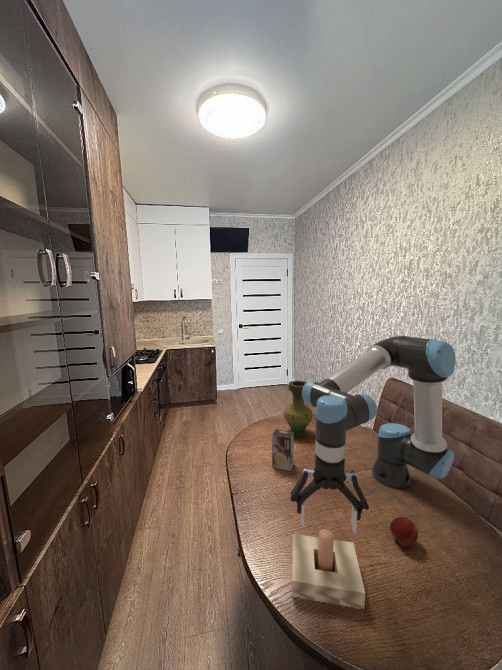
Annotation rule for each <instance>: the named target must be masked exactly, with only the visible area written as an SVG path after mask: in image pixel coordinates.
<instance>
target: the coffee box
mask: <svg viewBox="0 0 502 670" xmlns="http://www.w3.org/2000/svg"><path fill="white" fill-rule="evenodd" d="M294 439H295V438H294V432H290V430H284V429H280V428H279V429H278V428H274V430H273V432H272V434H271V465H272V466H271V467H272V468H275V469H280V470H283V471H288V472H292V470H293V467H294V464H295V463H294V453H295V452H294V449H295V448H294V447H295V445H294V444H295V442H294Z"/></svg>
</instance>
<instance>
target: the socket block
mask: <svg viewBox="0 0 502 670" xmlns="http://www.w3.org/2000/svg"><path fill="white" fill-rule="evenodd" d="M318 543H319V536H317V537H316V536H310V535H301V534H296V533H293V534H292V554H291V555H292V556H291V557H292V559H291V560H292V565H291V567H292V569H291V570H292V573H291V577H292V579H291V597H292V596H295V597H300V598H304V599H303V600H305V599H308V600H307V601H311V600H312V602H317V601H318V603H322V602H326V603H325V604H328V603H330V604H329V605H333V604H335V606H339V605H343V606H342V607H344V606H352V607H359V608H364V609H365V603H366V591H365V590H366V589H365V586H364V582H363V578H362V573H361V570H360V565H359V561H358V556H357V553H356V549H355V548H356V547H355V543H354V542H351V541H345V540H337V539H334V545H333V565H332V568H333V570H334V571H332V572H329V571H322V570H317V568H316V565H318ZM300 598H299V599H300ZM319 601H320V602H319Z"/></svg>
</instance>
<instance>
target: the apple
mask: <svg viewBox="0 0 502 670" xmlns="http://www.w3.org/2000/svg"><path fill="white" fill-rule="evenodd" d="M389 529H390V532H391V534H392V535H393V537H394V539H396V541H397V542H398V544H399V545H401V546H403V547H412V546H414V544H416V542H417V540H418V538H419V531H418V529H417V526H416V525H415V524H414V522H413V521H412V520H411V519H409V518H407V517H405V516H399V517H395V518H394V519H393V520H392V521H391V522H390V525H389Z"/></svg>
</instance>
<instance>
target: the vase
mask: <svg viewBox="0 0 502 670" xmlns="http://www.w3.org/2000/svg"><path fill="white" fill-rule="evenodd" d="M307 382H308V381H304V380H292V381H289V382H288V390H289V391H290V392H291V393H292V394H291V395H292V403H291V404H289V405H288V406H286V407H285V408H284V412H283V418H284V419H285V421H286V423H287V424H288V426H289V428H290V430H289V431H290V432H294V439H304V438H305V437H306V436H307V433H306V429H307V428H308V426H309V425H310V423H311V422H312V420H313V410H312V409H311V408H310V407H309V406H307V405H306V404H305V401H304V400H303V397H302V389H303V387H304V385H305V384H306V383H307Z"/></svg>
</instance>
